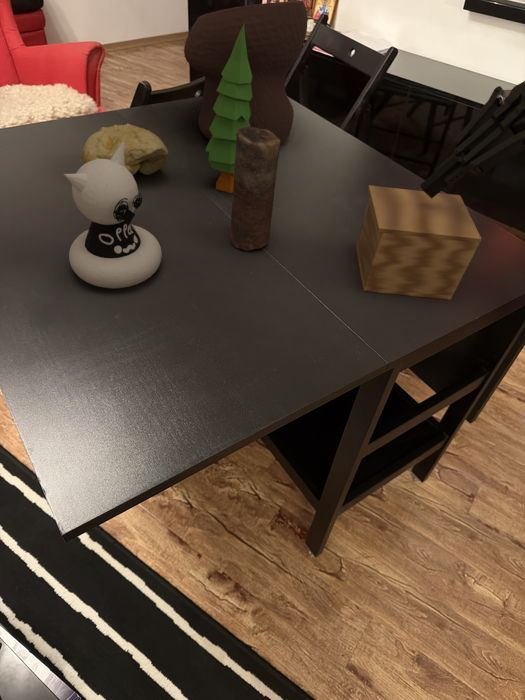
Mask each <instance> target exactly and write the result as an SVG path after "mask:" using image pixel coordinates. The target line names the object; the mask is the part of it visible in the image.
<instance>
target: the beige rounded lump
mask: <svg viewBox="0 0 525 700" xmlns="http://www.w3.org/2000/svg"><path fill="white" fill-rule="evenodd" d="M123 141H124V157H125V168H127V170H128V171H129V172H130V173H131V174H132V176H134V175H135V174H136V173H137V172H138V171H139V172H140V173H142V174H143V175H145V176H148V175H152V174H154V173H156V172H157V171H159V170H160V169H162V167H163V166H164V165H165V164H166V161H167V156H168V155H169V150H168V148H167V147H166V145H165V144H164V142H163V140H162V139H161V138H160V137H159V136H158V135H156V134H155V133H154V132H151V130H148V129H145V128H144V127H139V126H135V125H133V124H130V123H128V122H127V123H125V124H124V125H123V124H116V123H115V124H114V125H112V126H106V127H105V126H101V128H100V129H99V130H98V131H95V132H94V133H92V134H91V135H90V136H89V137H88V138H87V140H86V141H85V143H84V146H83V150H82V162H83V165H84V164H86V163H87V162H89V161H92V160H96V159H109V160H111V158H112V157H113V155H114V154H115V152H116V151H117V149H118V148H119V146H120V145H121V143H122V142H123Z"/></svg>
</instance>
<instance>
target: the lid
mask: <svg viewBox="0 0 525 700" xmlns="http://www.w3.org/2000/svg"><path fill="white" fill-rule="evenodd" d="M367 192H368V197H369V199H370V201H371V206H372V210H373V214H374V218H375V222H376V227H377V231H378V232H380V233H389V234H399V235H408V236H418V237H427V238H437V239H446V240H456V241H465V242H475V243H479V244H480V243H481V242H482V237H481V234H480V233H479V231H478V229H477V227H476V224H475V222H474V219H472V216H471V214H470V212H469V210H468V208H467V206H466V204H465V202H464V200H463V198H462V197H461V195H460V194H451V193H443V192H439V193H438V194H437V195H436V196H434V197H433V198H430V197H429V196H428V195H427V194H426V193H425V192H424V191H423V190H415V189H405V188H396V187H388V186H379V185H370V184H369V185H368V186H367Z"/></svg>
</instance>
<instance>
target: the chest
mask: <svg viewBox="0 0 525 700" xmlns="http://www.w3.org/2000/svg"><path fill="white" fill-rule="evenodd" d="M367 202H368V203H367V206H366V210H365V212H364V216H363V219H362V224H361V227H360V230H359V233H358V236H357V240H356V244H355V249H356V250H355V251H356V256H357V261H358V266H359V273H360V277H361V284H362V289H363V292H371V293H380V294H391V295H400V296H409V297H410V296H411V297H419V298H429V299H438V300H439V299H440V300H448V301H451V300H452V298H453V296H454V295H455V292H456V291H457V289H458V286H459V284H460V283H461V280H462V279H463V276H464V274H465V272H466V270H467V269H468V267H469V265H470V263H471V261H472V259H473V257H474V255H475V253H476V251H477V249H478V247H479V246H480V243H475V242H465V241H456V240H446V239H437V238H427V237H418V236H408V235H399V234H389V233H380V232H378V231H377V227H376V222H375V218H374V214H373V210H372V206H371V201H370V198H369V199H368V201H367Z"/></svg>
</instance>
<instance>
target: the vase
mask: <svg viewBox="0 0 525 700" xmlns="http://www.w3.org/2000/svg"><path fill="white" fill-rule="evenodd" d="M307 11H308V10H307V7H306V4H305V1H304V0H292V1H290V0H289V1H278V2H266V3H256V4H249V5H242V6H235V7H230V8H224V9H219V10H216V11H211V12H209V13H208V12H207V13H205V14H201V15H200V16H198V17H197V19H196V20H195V21H194V24H193V25H192V26H191V29H190V30H189V32H188V35H187V36H186V39H185V42H184V47H183V54H184V58H185V61H186V63H188V64H189V66H191V68H192V69H194V70H195V71H197V72H198V73H200V74H201V75H203V76H204V87H203V94H202V100H201V106H200V110H199V114H198V118H197V122H198V128H199V130H200V132H201V134H202V135H203V136H204V137H205V138H206V139H207V140H209V141H210V139H211V137H212V133H211V132H210V130H209V128H210V126H211V124H212V122H213V120H214V118H215V116H216V112H215V111H214V110H213V107H214V105H215V103H216V100H217V98H218V96H219V94H220V93H219V92H217V89H218V86H219V84H220V82H221V79H222V77H223V76H222V74H221V73H222V71H223V69H224V68H225V66H226V64H227V62H228V60H229V58H230V56H231V53H232V51H233V48H234V45H235V43H236V40H237V37H238V35H239V33H240V31H241V28H242V26H243V24H244V30H245V42H246V49H247V57H248V62H249V65H250V69H251V73H252V81H251V89H252V98H251V100H250V101H249V106H250V113H251V115H250V118H249V124H250V127H252V128H259V129H265V130H269V131H270V132H272V133H273V134H274V135H275V136H276V137H277V138H279V140H280V146H282V145H283V144H284V143H285V142H286V141H287V139H288V138H289V136H290V133H291V130H292V127H293V123H294V118H295V117H294V116H295V111H294V108H293V107H294V106H293V104H292V103H291V100H290V99H289V97H288V94H287V92H286V85H285V84H286V77H287V75H288V73H289V71H290V69H291V68H292V67H293V66H294V64H295V62H296V61H297V59H298V57H299V56H300V53H301V51H302V48H303V46H304V43H305V39H306V36H307V32H308V19H309V18H308V12H307Z"/></svg>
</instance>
